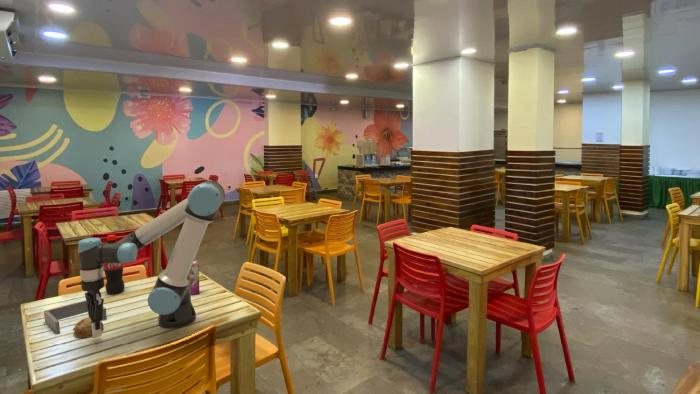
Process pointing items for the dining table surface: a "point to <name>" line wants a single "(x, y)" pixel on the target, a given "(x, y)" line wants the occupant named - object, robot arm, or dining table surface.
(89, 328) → the bread roll
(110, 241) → the cola bottle
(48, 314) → the box
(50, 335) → the dining table surface
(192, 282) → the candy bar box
